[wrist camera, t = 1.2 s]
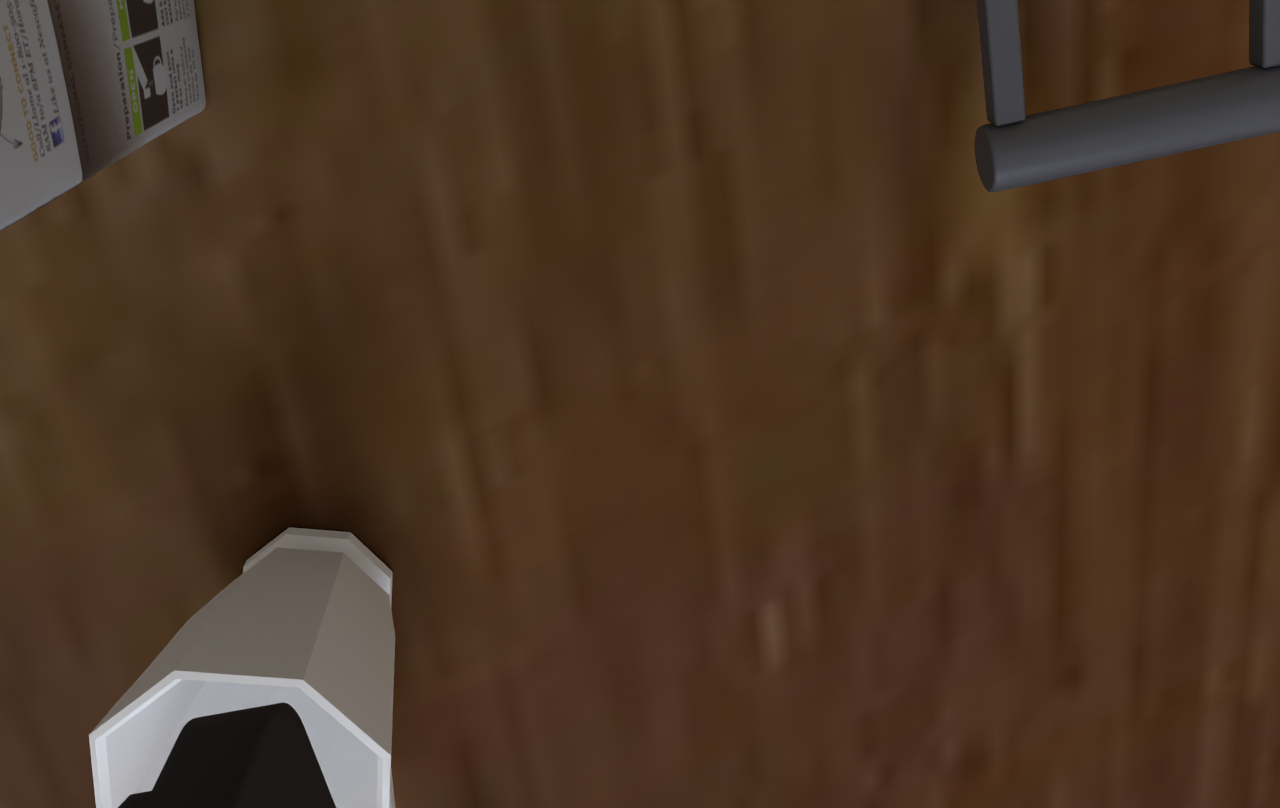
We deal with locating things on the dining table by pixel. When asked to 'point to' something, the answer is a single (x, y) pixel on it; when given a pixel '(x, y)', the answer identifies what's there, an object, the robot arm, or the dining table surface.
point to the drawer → (1117, 109)
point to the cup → (273, 669)
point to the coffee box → (88, 89)
